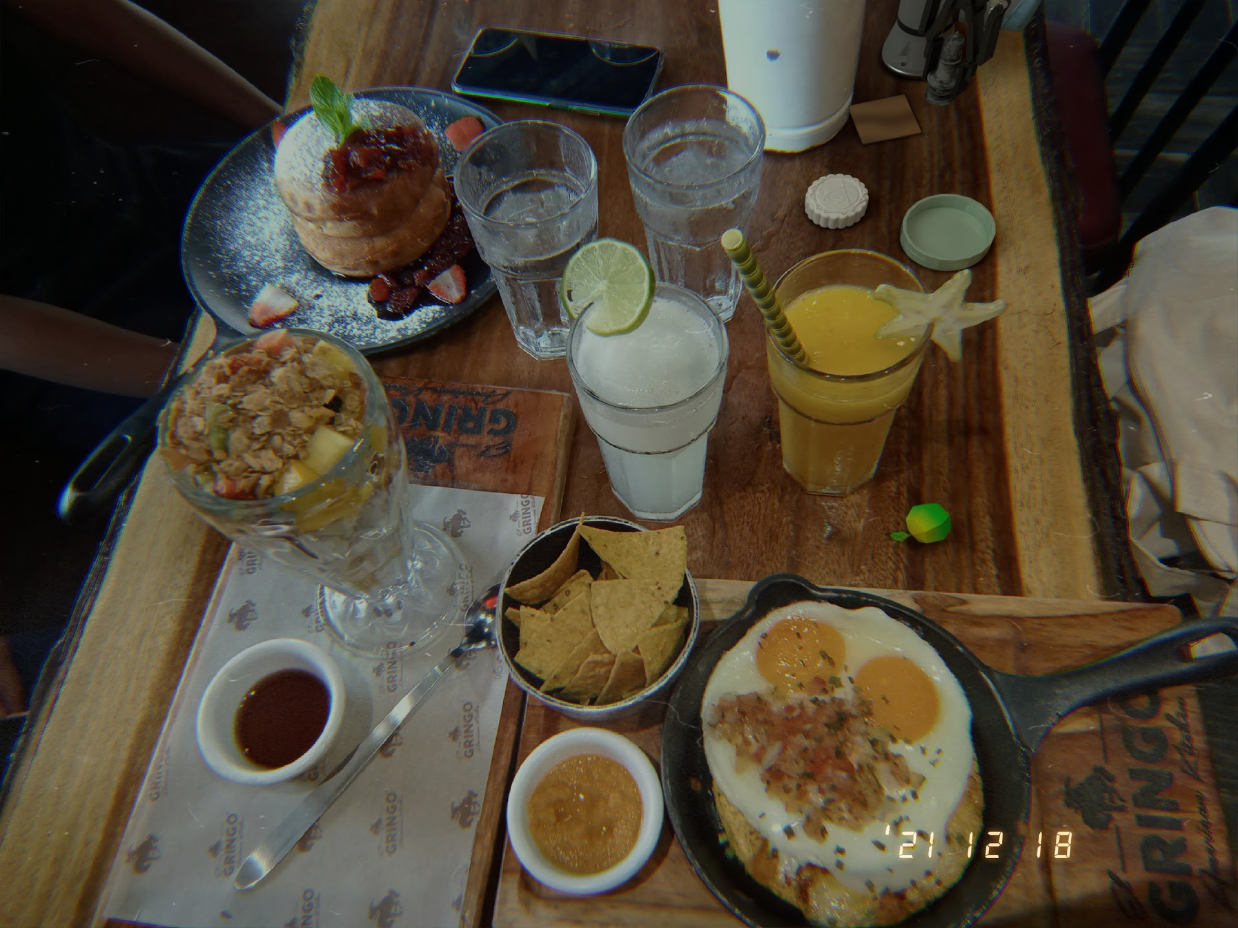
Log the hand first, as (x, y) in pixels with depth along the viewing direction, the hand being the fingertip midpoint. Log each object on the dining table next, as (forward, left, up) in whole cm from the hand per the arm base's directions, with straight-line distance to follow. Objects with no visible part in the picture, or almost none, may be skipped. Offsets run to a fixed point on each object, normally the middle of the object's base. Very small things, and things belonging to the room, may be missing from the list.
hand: (943, 84), depth 127 cm
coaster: (-18, -1, -21) cm, 28 cm away
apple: (+73, -21, -21) cm, 79 cm away
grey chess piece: (0, 0, -2) cm, 2 cm away
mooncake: (+3, -17, -21) cm, 28 cm away
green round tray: (+16, +1, -21) cm, 27 cm away
